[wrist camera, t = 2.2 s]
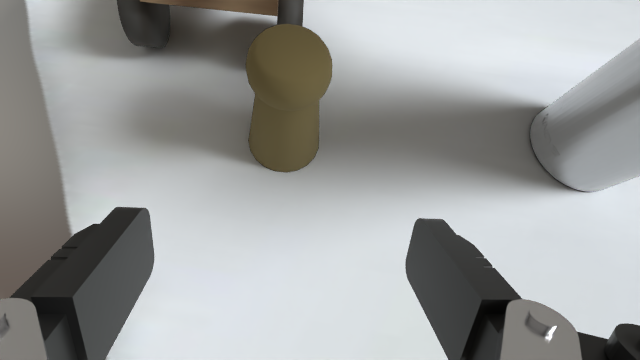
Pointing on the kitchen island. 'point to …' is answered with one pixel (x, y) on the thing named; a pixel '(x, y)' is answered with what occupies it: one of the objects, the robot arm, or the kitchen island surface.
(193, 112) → the kitchen island surface
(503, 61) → the kitchen island surface
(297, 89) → the cork
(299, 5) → the trolley
